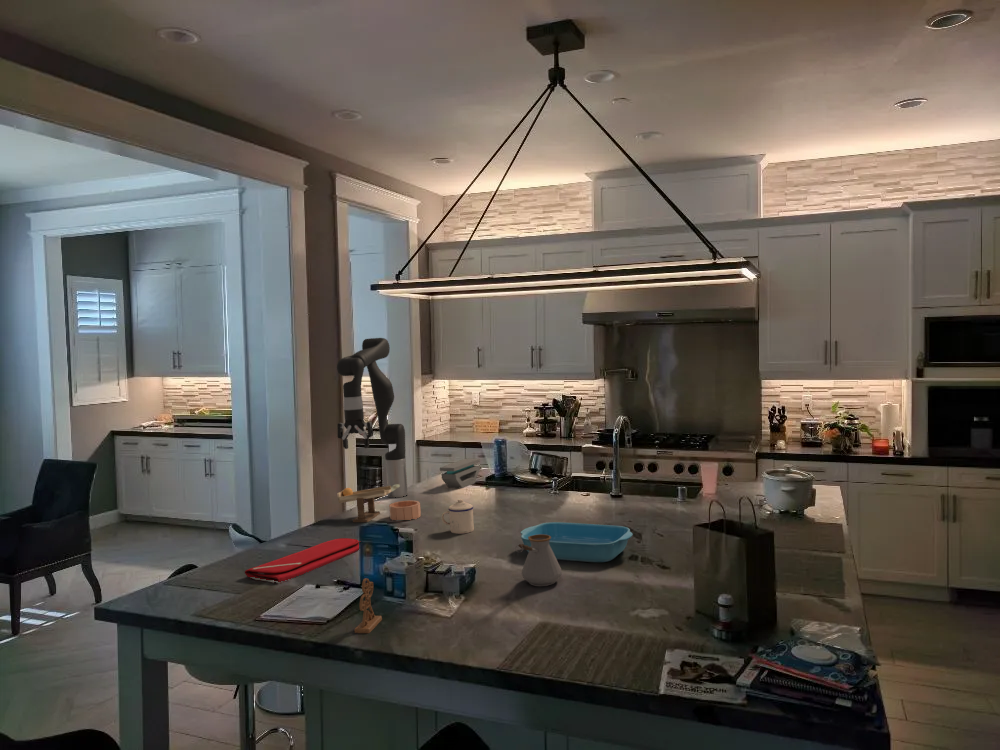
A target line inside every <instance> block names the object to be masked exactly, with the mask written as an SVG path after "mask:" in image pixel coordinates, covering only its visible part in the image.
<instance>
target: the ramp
mask: <svg viewBox="0 0 1000 750" xmlns="http://www.w3.org/2000/svg"><path fill="white" fill-rule="evenodd" d="M398 487H400V484H395V485H393V486H392V487H391V486H387V485H386V486H379V487H373V488H370V489H362V490H357V491H353V494H352V495H348V496H344V495H343V490H342V491H339V492H337V494H336V496H337V500H338V504H342V503H343V504H344V503H348V502H355V501H356V502H357V498H362V497H363V498H364V500H365V499H366V500H367V499H368V498H374V499H375V498H377V497H378V498H379V497H385V496H386V495H387V496H388V493H390V492H392V491H394V490H395V489H397V488H398Z"/></svg>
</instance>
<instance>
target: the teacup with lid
mask: <svg viewBox="0 0 1000 750" xmlns="http://www.w3.org/2000/svg"><path fill="white" fill-rule="evenodd" d="M445 514H446V515H448V516H449V522H447V521H446V520H445V518H444V516H445ZM440 516H441V517H440V518H441V521H442V523H443V524H445V525H446V526H450V527H449V528H450V532H451V533H452V534H456V535H458V534H459V535H461V534H469V533H472V532H473V531H474V530H475V528H474V527H475V526H474V525H475V524H474V506H473V504H471V503H468V502H466V501H464V500H463V498H458V499H457V502H454V503H452V505H449V507H448V511H444V512H443V513H442V514H441V515H440Z"/></svg>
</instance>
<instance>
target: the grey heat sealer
mask: <svg viewBox="0 0 1000 750" xmlns="http://www.w3.org/2000/svg"><path fill="white" fill-rule="evenodd" d="M480 462H481V458H470V457H469V458H464V459H461V460H457V461H454V462H452V463H449V464H446V465H443V466H440V467H439V471H440V472H444V473H441V480H442V481H443V482H444V484H445V485H446V486H447V487H448V488H449V489H450V488H452V489H453V488H454V489H465V488H467V487H469V486H471V485H473V484H476V481H477V479H478V476H479V473H480V466H479V465H475V464H479V463H480Z"/></svg>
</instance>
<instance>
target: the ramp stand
mask: <svg viewBox="0 0 1000 750" xmlns="http://www.w3.org/2000/svg"><path fill="white" fill-rule="evenodd" d="M366 500H367V511H365V499H364V498H363V497H362V498H357V500H356V507H357V508H356V509H357V517H355V518H353V519H352V523H369V522H370V521H371V520H373V519H375V518H376V517H377V516H380V514H381V510H380V511H378V510H377V511H376V506H375V497H374V498H368V499H366Z"/></svg>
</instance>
